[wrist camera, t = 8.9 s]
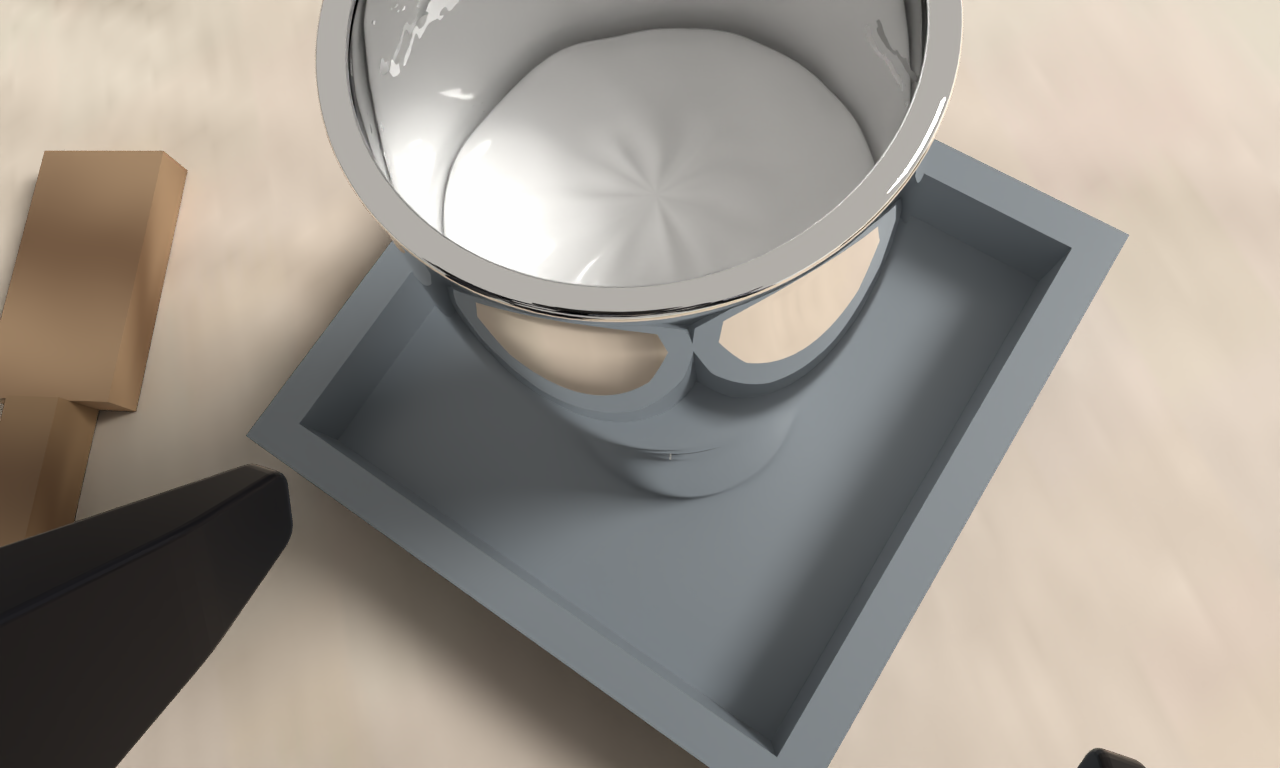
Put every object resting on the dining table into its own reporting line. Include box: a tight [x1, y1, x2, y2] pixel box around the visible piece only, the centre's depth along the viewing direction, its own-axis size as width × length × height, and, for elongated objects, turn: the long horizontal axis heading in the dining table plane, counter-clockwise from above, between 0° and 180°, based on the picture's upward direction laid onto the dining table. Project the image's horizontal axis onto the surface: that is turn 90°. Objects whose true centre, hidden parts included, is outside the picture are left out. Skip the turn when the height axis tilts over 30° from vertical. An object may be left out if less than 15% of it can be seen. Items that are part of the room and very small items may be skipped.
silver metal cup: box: [315, 0, 963, 498], centre depth 16 cm, size 7×7×15 cm
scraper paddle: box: [0, 151, 187, 547], centre depth 25 cm, size 14×4×2 cm, turn 177°
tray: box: [246, 139, 1129, 768], centre depth 22 cm, size 16×16×3 cm
